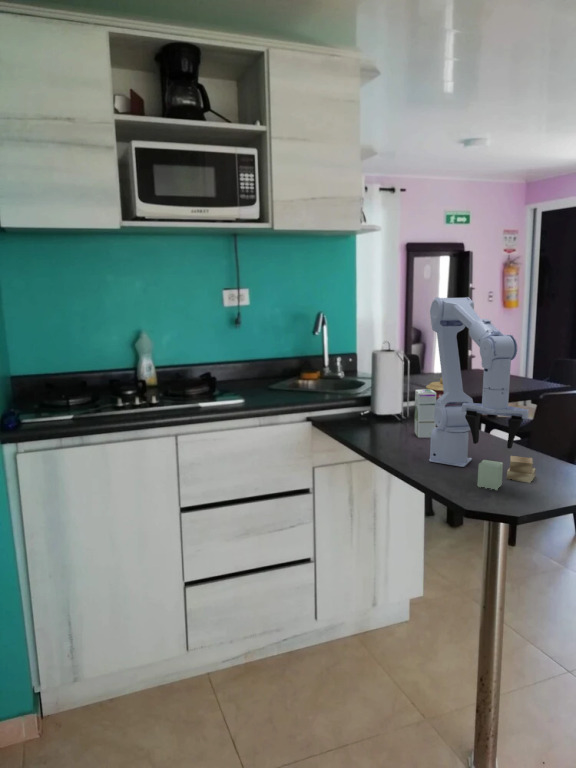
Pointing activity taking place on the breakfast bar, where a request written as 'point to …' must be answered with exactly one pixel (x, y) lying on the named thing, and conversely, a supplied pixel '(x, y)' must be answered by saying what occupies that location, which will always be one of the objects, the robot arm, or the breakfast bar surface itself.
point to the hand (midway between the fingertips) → (492, 445)
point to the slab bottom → (521, 476)
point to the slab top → (521, 464)
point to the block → (490, 474)
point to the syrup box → (424, 412)
